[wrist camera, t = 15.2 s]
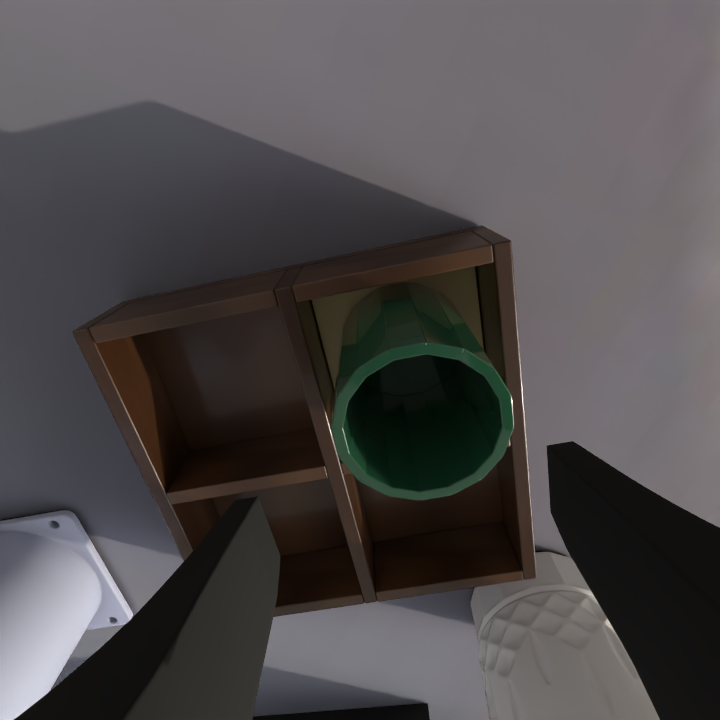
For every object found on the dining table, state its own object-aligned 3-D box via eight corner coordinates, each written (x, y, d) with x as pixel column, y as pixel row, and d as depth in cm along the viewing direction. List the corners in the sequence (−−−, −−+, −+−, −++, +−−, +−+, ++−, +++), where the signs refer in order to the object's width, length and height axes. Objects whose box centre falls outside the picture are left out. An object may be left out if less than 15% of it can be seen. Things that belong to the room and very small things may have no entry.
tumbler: (355, 406, 20) (353, 511, 14) (328, 296, 18) (312, 363, 12) (470, 385, 19) (519, 484, 13) (456, 270, 17) (506, 326, 11)
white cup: (522, 518, 23) (627, 750, 14) (634, 578, 25) (793, 821, 16) (431, 610, 26) (470, 856, 17) (538, 659, 28) (626, 907, 18)
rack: (234, 563, 25) (214, 626, 21) (122, 301, 19) (71, 331, 15) (512, 519, 23) (537, 578, 20) (483, 225, 18) (511, 239, 14)
